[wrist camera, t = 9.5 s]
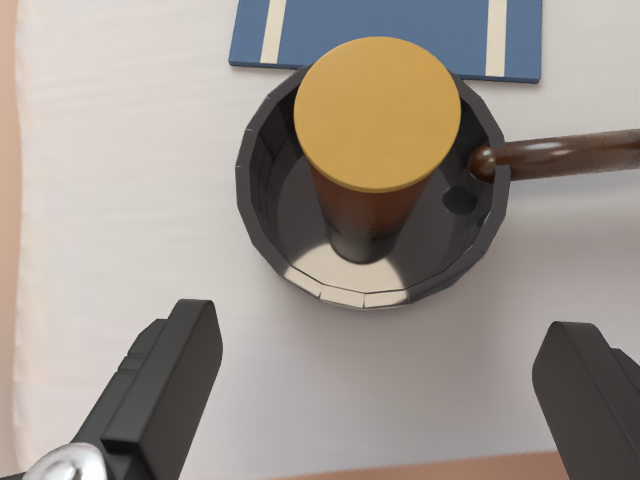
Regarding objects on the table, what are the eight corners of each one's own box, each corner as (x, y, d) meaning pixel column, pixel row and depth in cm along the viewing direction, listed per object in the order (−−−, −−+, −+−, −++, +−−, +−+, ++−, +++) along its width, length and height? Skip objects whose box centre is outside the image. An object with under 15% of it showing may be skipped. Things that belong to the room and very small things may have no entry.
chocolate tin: (438, 196, 21) (497, 111, 13) (363, 263, 21) (371, 223, 12) (368, 128, 23) (379, 6, 14) (296, 191, 22) (260, 107, 13)
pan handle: (466, 190, 19) (477, 177, 18) (460, 155, 20) (471, 139, 18) (678, 169, 19) (711, 154, 17) (668, 134, 19) (700, 115, 17)
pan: (531, 202, 21) (570, 175, 18) (359, 360, 21) (360, 370, 17) (371, 54, 24) (375, 3, 20) (212, 190, 23) (183, 164, 19)
